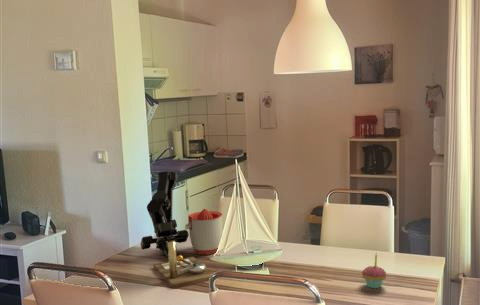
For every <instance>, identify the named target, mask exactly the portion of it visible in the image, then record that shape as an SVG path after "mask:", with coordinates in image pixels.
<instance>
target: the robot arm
mask: <svg viewBox="0 0 480 305" xmlns="http://www.w3.org/2000/svg"><path fill="white" fill-rule="evenodd" d="M157 181H158V183H157V188H156V192H155V193H154V194H152V197H151V200H150V201H149V202H148V204H147V206H146V211H147V212H148V214H149V215H148V216H149V217H150V219H151V222H152V225H153V229H154V234H155V236H156V237H155V238H153V236H152V235H146V236H143V237H142V238H141V240H140V248H141V250H148V249H150V248H151V247H152V244H155V245H156V247H155V248H156V249H158V250H159V251H161V253H159V256H162V257H166V258H168V259H169V257H168V243H167V242H168V241H175V245H176V246H177V244H176V243H178V244H182V243H186V242H187V240H188V238H189V237H190V233H189V231H188V229H182V230H181V229H180V230H178V229H177V227H178V224H177V220H176V219H173V198H174V197H173V193H174V189H175V187H176V186H177V181H178V173H177V172H175V170H167V171H166V170H164V171H161V170H160V171H159V172H157ZM178 255H180V252H179V251H177V250H176V256H178Z"/></svg>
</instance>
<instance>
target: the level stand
mask: <svg viewBox="0 0 480 305" xmlns="http://www.w3.org/2000/svg"><path fill="white" fill-rule="evenodd" d="M183 260H185V261H187V262H189V263H191V264H192V263H201V261H199V260H198V259H197V258H195V256H189V257H183ZM187 267H188V264H186V263H184V262H182V261H181V262H179V261H177V270H180V269H184V268H187ZM153 268H154V269H155V270H156V272H157V273H158V274H159V275H160V276H161V277H162V278H163V279H164V280H165V281H166V282H167V283H168V284H169V286H170V287H171V288H172V289H178V288H182V287H187V286H191V285H196V284H201V283H205V282H209V281H210V280H209V277H210V275H211V274H212V273H214V272H213V271H212V270H210V269H209V268H208V267H207V266H205V268H206V270H205V271H204V272H203V273H199V274H191V273H189V272H184V273H181V274H178V276H177V277H176V278H170V271H169V260H168V261H164V262H159V263H154V264H153ZM208 280H209V281H208ZM204 281H205V282H204ZM200 282H201V283H200Z"/></svg>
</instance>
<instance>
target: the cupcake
mask: <svg viewBox="0 0 480 305" xmlns="http://www.w3.org/2000/svg"><path fill="white" fill-rule="evenodd" d="M377 260H378V255H377V252H375V254H374V265H372V266H371V265H370V266H367V267H365V268H364V269H363V270H362V272H361V276H362V278H363V279H364V280H365V283H366V286H367V287H368V288H369V287H371V288H370V289H373V288H377V289H380V288H381V287H382V284H383V282H384V280H386V279H387V272H386V271H385V270H384V268H382V267H379V266H377V264H378V263H377V262H378V261H377ZM379 287H380V288H379Z"/></svg>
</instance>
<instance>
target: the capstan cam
mask: <svg viewBox="0 0 480 305" xmlns="http://www.w3.org/2000/svg"><path fill="white" fill-rule="evenodd" d="M167 243H168V257H169V258H168V257H167V258H168V261H169V271H170V278H176V277H177V276H178V274H181V273H184V272H189V273H191V274H199V273H203V272H204V271H205V270H206V268H207V267H206V263H203V262H200V263H192V264H191V263H189V262H187V261H185V260H183V258H184V256H183V255H181V254H177V255H176V251H177V244H176V245H175V241H168V242H167ZM177 261H179V262H181V261H182V262H184V263H186V264H188V267H187V268H184V269H180V270H177ZM205 267H206V268H205Z"/></svg>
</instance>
